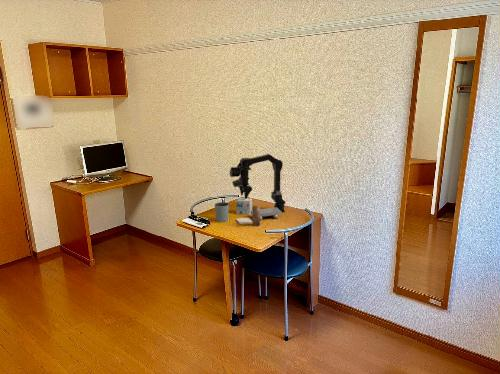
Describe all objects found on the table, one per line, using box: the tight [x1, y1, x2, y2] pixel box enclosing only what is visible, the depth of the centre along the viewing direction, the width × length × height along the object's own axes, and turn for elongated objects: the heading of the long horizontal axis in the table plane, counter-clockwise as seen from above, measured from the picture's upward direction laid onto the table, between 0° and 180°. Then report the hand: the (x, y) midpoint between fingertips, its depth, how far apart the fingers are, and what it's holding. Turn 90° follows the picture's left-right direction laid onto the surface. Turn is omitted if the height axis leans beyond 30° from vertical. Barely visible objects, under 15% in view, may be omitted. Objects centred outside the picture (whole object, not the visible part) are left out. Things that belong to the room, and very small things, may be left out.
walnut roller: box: [251, 205, 261, 227], centre depth 261 cm, size 5×5×13 cm
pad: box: [235, 216, 253, 225], centre depth 269 cm, size 9×9×1 cm
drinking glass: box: [214, 201, 230, 223], centre depth 271 cm, size 10×10×12 cm
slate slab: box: [250, 207, 283, 222], centre depth 276 cm, size 20×11×5 cm, turn 106°
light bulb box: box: [235, 197, 253, 216], centre depth 286 cm, size 11×7×11 cm, turn 76°
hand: (243, 197), depth 277 cm, fingers open, 9 cm apart
